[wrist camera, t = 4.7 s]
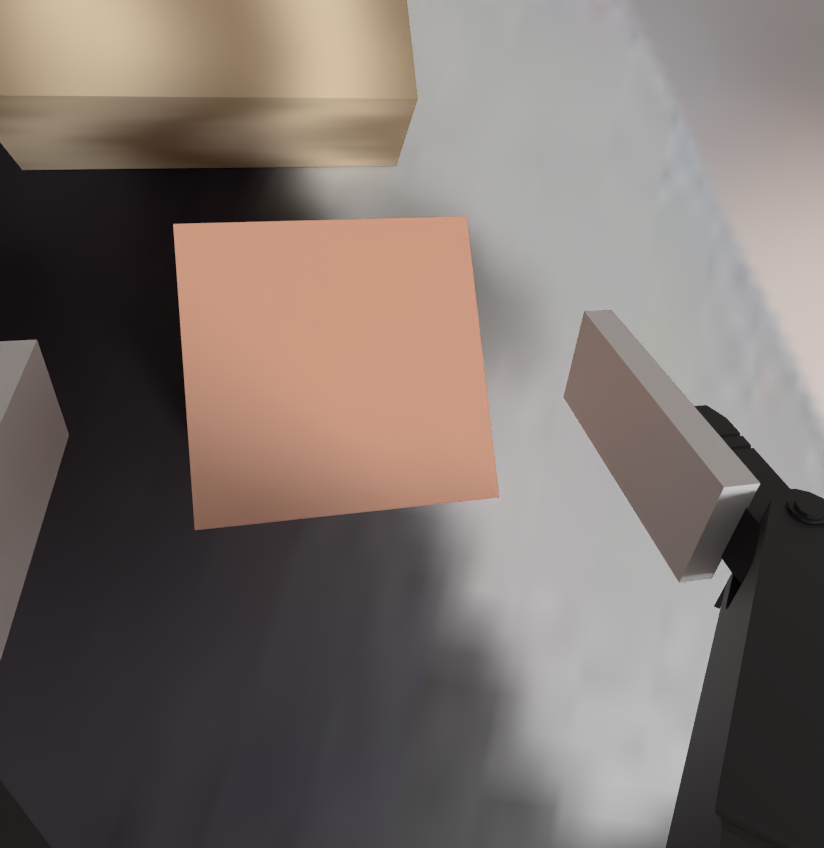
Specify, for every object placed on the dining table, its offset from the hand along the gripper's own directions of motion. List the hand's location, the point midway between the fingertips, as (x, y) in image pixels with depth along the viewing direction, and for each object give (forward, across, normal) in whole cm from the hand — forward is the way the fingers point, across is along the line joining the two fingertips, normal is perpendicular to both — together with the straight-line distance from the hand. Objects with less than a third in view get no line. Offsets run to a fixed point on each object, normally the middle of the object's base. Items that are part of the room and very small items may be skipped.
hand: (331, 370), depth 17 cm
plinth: (+14, -3, +6) cm, 15 cm away
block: (+3, 0, -4) cm, 6 cm away
